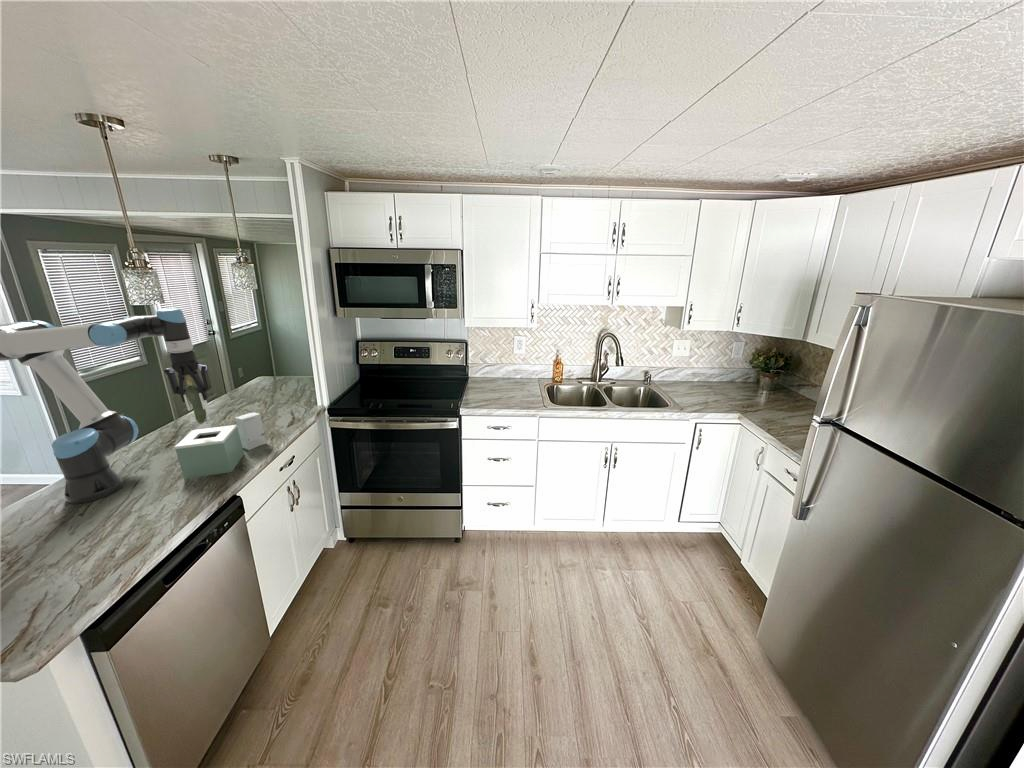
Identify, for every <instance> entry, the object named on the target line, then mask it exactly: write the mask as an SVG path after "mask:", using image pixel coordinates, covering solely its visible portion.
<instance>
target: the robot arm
mask: <svg viewBox="0 0 1024 768" xmlns="http://www.w3.org/2000/svg"><path fill="white" fill-rule="evenodd" d="M155 313H156V314H155V315H131V316H124V317H122V318H121V319H118V320H114V321H113V320H112V321H105V322H96V323H95V322H94V323H86V324H78V325H77V324H75V325H67V326H58V327H57V326H55V325H53V324H51V323H48V322H47V321H42V320H37V319H36V320H35V319H34V320H21V321H16V322H11V323H5V324H0V362H1V361H2V362H4V361H11V360H17V361H19V363H20V364H21V365H23V366H26V367H27V366H28V367H31V368H32V369H33V370H34V372H36V374H37V375H38V376H39V377H40V378H41V379H42V380H43V381H44V383H45V384H46V385H47V386H48V387H49V388H50V389H51V391H52V392H53V393H54V394H55V395H56V396H57V398H58V399H60V401H61V402H62V403H63V404H64V405H65V406H66V408H67V409H68V410H69V411H70V412H71V413H72V414H73V415H74V417H75V418H76V419H77V420H78V421H79V422H80V424H79V426H78V429H75V430H72V431H68V432H67V433H64V434H61V435H60V436H59V437H57V438H55V440H53V442H52V444H51V447H52V450H53V455H54V457H55V459H56V461H57V464H58V466H59V468H60V470H61V473H62V474H63V477H64V480H65V487H64V499H65V501H66V502H67V503H68V504H75V505H76V504H78V505H79V504H84V503H89V502H90V503H91V502H93V501H97V500H99V499H103V498H106V497H108V496H110V495H112V494H114V493H115V492H117V491H118V490H120V489H122V487H124V481H123V479H122V477H121V476H119V474H118V473H117V471H115V470H114V469H113V468H112V467H111V465H110V463H109V462H110V461H109V460H108V457H109V456H111V455H113V454H115V453H116V452H118V451H119V450H122V449H124V448H126V447H128V446H130V444H132V443H133V442H134V441H135V440H136V439H137V437H138V435H139V427H138V424H137V423H136V422H135V421H134V419H132V418H130V417H127V416H126V415H125V416H124V415H120V414H119V413H118V412H117V411H114V410H110V409H108V408H107V406H106V405H105V403H103V401H101V400H100V398H99V397H98V396H97V395H96V393H95V392H94V391H93V390H92V389H91V387H90V386H89V385H88V384H87V383H86V382H85V381H84V379H83V378H82V377H81V376H80V374H79V373H78V372H77V371H76V370H75V368H74V367H73V366H72V365H71V364H70V363H69V361H68V360H67V359H66V357H64V354H65V351H66V350H73V349H75V350H77V349H83V348H84V349H85V348H93V347H105V348H108V347H116V346H120V345H122V344H126V343H128V342H133V341H136V340H141V339H144V338H148V337H150V338H151V337H163V339H164V340H163V341H164V342H165V345H166V349H167V352H169V353H168V356H169V359H170V362H171V367H168V368H165V369H164V370H163V371H164V373H165V374H166V375H167V378H168V380H169V381H168V382H169V384H170V386H171V391H172V392H173V394H174V395H176V394H177V395H180V398H181V401H182V403H185V405H186V408H187V411H188V412H189V411H192V410H194V409H193V406H192V404H191V403H190V401H189V399H188V397H187V395H186V388H187V380H185V381H184V377H187V375H188V376H190V378H192V381H193V382H194V384H195V386H197V387H198V388H199V390H200V393H199V397H200V400H201V403H202V407H203V409H205V410H206V409H207V408H209V403H208V401H207V400H209V394H208V392H209V391H210V390H211V389H212V384H211V380H210V376H209V373H208V367H209V366H208V364H201V363H199V362H198V360H197V357H196V352H195V349H194V346H193V345H194V344H193V342H192V339H191V336H190V333H189V328H188V324H187V319H186V318H185V315H184V312H183V310H182V309H180V308H166V309H165V308H164V309H163V308H162V309H158V310H156V312H155ZM198 369H199V371H200V373H201V374H200V375H201V377H200V375H199V372H198ZM175 372H176V373H177V374H178V375H177V377H178V380H177V377H176V374H175Z"/></svg>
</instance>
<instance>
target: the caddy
mask: <svg viewBox="0 0 1024 768" xmlns="http://www.w3.org/2000/svg"><path fill="white" fill-rule="evenodd" d="M174 449H175V452H176V456H177V458H178V463H179V465H180V468H181V472H182V475H183V478H184V480H187V479H193V478H194V477H195V478H200V477H206V476H213V475H214V476H215V475H221V473H222V474H227V473H232V472H233V471H234V469H235V468H236V466H237V465H238V464H239V462H240V461H241V459H242V457H243V456H245V452H244V448H243V447H242V444H241V440H240V436H239V432H238V428H237V424H230V425H223V426H215V427H206V428H199V429H192V430H191V431H190V432H189V433H187V434H186V436H185V437H183V438H182V439H181V440H180V441H179V442H178V443H177V444H175V446H174Z"/></svg>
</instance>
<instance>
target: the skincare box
mask: <svg viewBox="0 0 1024 768" xmlns="http://www.w3.org/2000/svg"><path fill="white" fill-rule="evenodd" d="M234 420H235V423H236V424H235V425H237V428H238V432H239V436H240V440H241V444H242V447H243V449H245V450H248V451H251V450H252V449H255V448H258V447H261V446H263V445H266V444H267V440H266V434H265V430H264V425H263V422H262V416H261V413H258V412H254V411H253V412H249V413H246V414H242V415H240V416H239V415H238V416H236V417H234Z"/></svg>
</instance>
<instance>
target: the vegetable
mask: <svg viewBox="0 0 1024 768" xmlns="http://www.w3.org/2000/svg"><path fill="white" fill-rule="evenodd" d="M185 380H186V385H187V386H186V395H187V397H188V399H189V401H190V403H191V404H192V406H193V409H192V410H193V413H194V416H195V420H196V422H197V423H198V424H199V425H202V424H204V423H205V422H206V420H207V411H206V409H203V407H202V403H201V400H200V397H199V393H200V390H199V388H198V387H197V385H196V384H195V382H194V380H193V379H191V377H189V376H186V377H184V381H185Z"/></svg>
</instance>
